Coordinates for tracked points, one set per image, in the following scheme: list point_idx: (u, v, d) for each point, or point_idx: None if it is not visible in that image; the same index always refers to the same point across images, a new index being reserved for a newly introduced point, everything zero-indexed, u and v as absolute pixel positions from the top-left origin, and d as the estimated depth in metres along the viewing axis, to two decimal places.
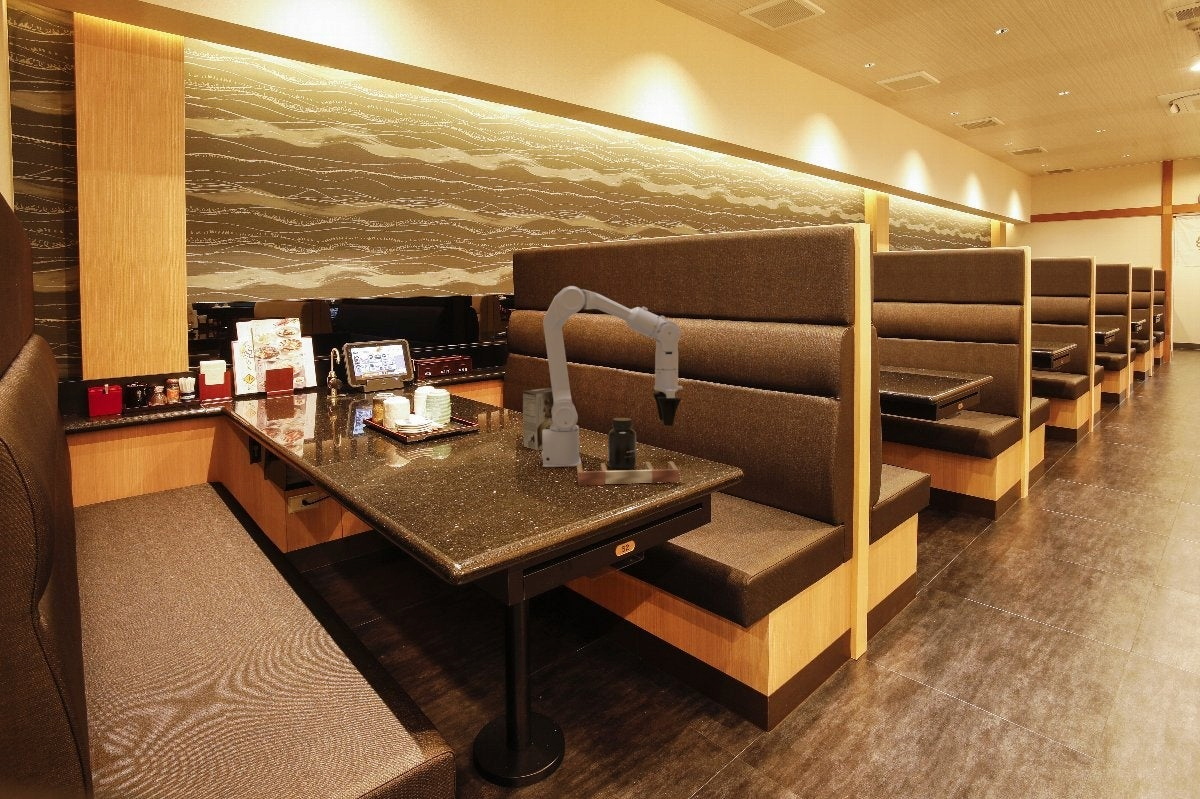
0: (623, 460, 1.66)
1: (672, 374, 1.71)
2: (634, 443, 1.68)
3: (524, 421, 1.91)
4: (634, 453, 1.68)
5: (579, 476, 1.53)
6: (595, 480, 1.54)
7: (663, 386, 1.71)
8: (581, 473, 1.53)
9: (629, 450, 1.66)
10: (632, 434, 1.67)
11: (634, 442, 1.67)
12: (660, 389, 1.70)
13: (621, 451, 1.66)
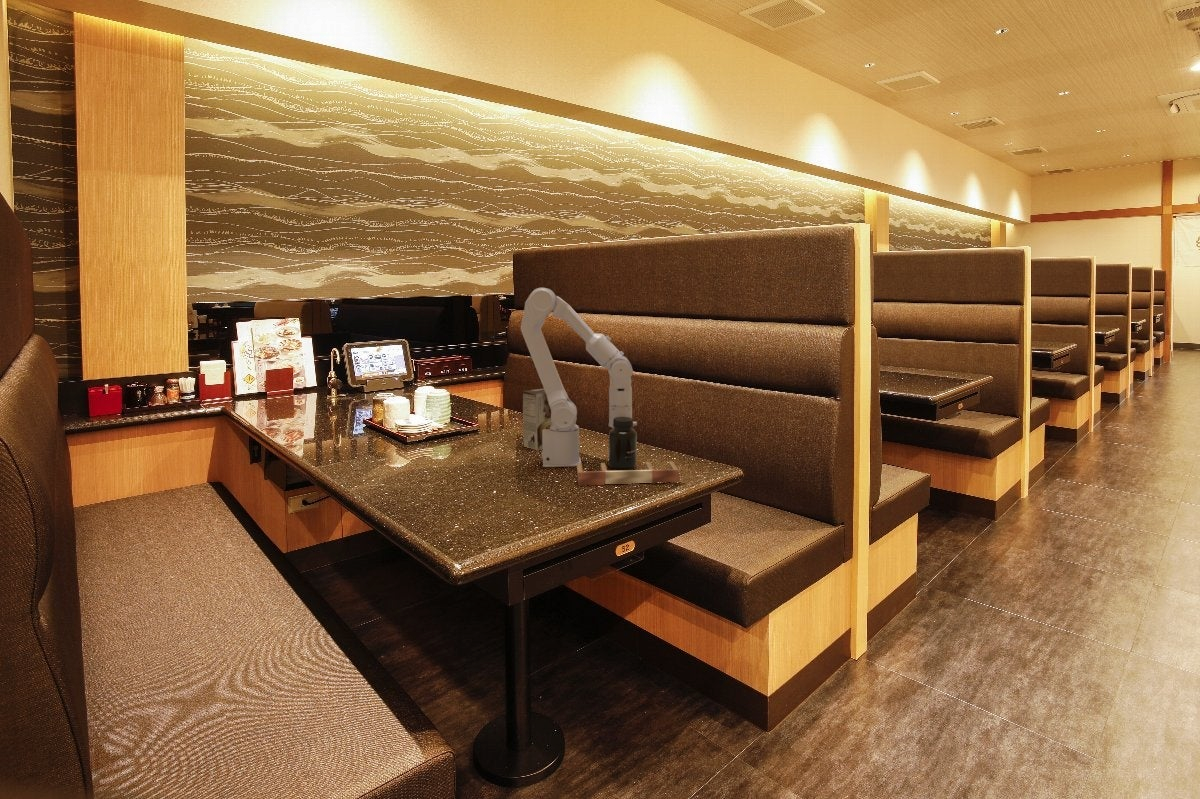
0: (623, 461, 1.66)
1: (625, 411, 1.70)
2: (635, 443, 1.67)
3: (524, 421, 1.91)
4: (634, 453, 1.68)
5: (579, 476, 1.53)
6: (595, 480, 1.54)
7: None
8: (581, 473, 1.53)
9: (629, 450, 1.66)
10: (632, 434, 1.66)
11: (634, 442, 1.67)
12: None
13: (622, 452, 1.66)
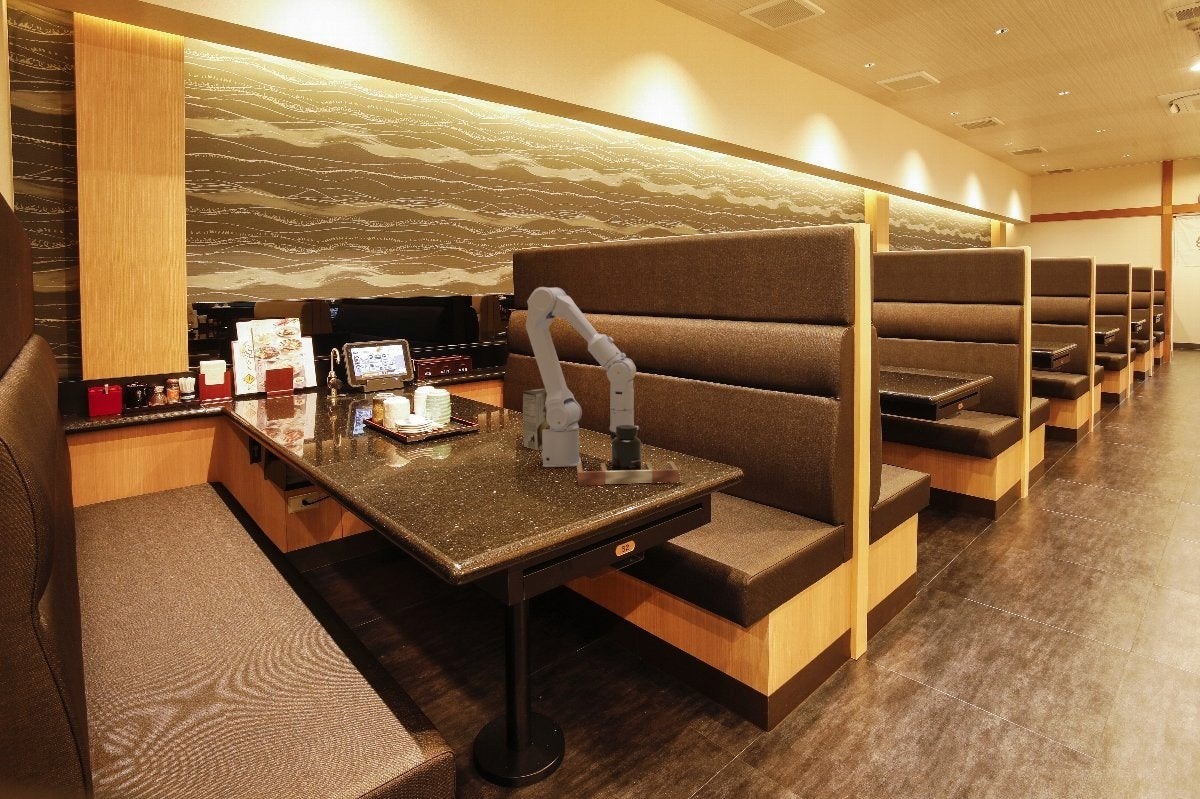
0: None
1: (627, 415, 1.65)
2: (639, 452, 1.58)
3: (524, 421, 1.91)
4: (639, 463, 1.58)
5: (579, 476, 1.53)
6: (595, 480, 1.54)
7: None
8: (581, 473, 1.53)
9: (634, 459, 1.57)
10: (637, 442, 1.57)
11: (639, 451, 1.58)
12: (614, 430, 1.65)
13: (626, 461, 1.56)
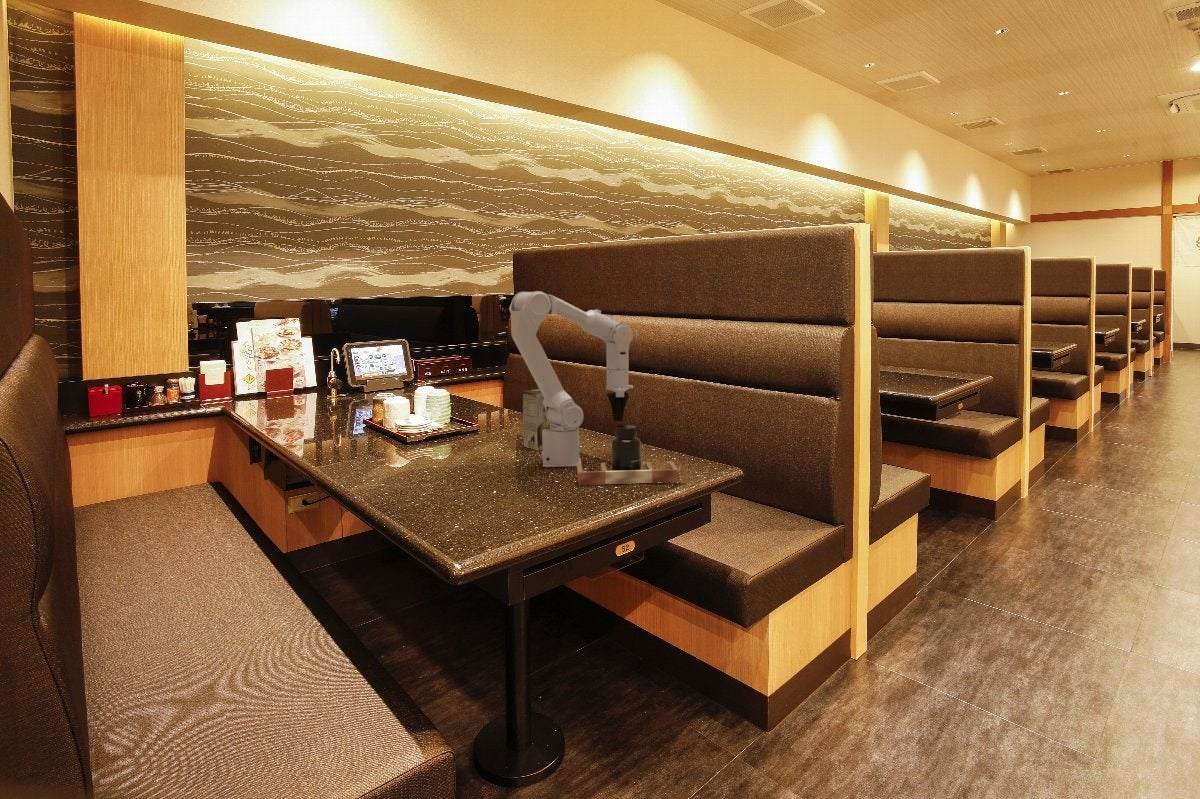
0: None
1: (622, 374, 1.76)
2: (639, 452, 1.58)
3: (524, 421, 1.91)
4: (639, 462, 1.58)
5: (579, 476, 1.53)
6: (595, 480, 1.54)
7: (614, 385, 1.76)
8: (581, 473, 1.53)
9: (633, 459, 1.57)
10: (636, 442, 1.57)
11: (639, 451, 1.58)
12: (610, 388, 1.76)
13: (626, 461, 1.56)
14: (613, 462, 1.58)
